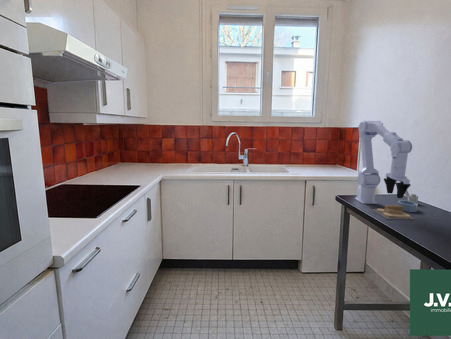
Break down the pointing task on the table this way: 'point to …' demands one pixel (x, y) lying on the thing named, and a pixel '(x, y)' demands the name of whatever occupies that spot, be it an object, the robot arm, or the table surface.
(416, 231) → the table surface
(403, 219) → the mat
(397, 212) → the lid
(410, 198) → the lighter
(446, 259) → the table surface
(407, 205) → the bowl
